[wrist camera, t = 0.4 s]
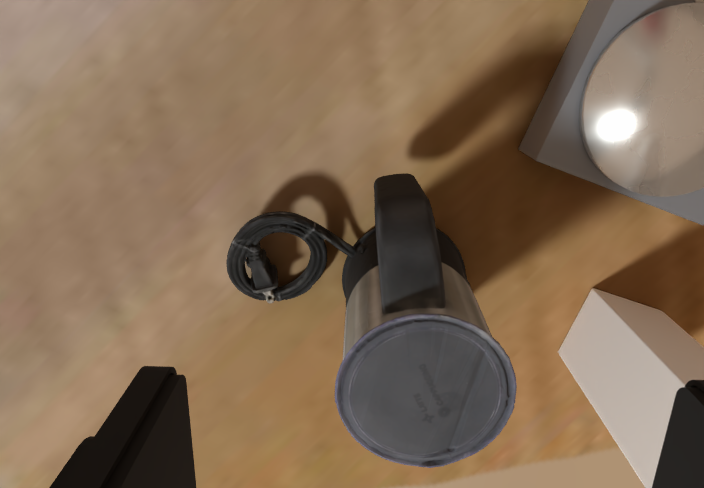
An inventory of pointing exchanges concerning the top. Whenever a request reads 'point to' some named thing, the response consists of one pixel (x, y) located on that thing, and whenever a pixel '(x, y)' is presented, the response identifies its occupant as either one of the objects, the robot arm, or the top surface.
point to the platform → (649, 104)
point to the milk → (631, 371)
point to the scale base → (565, 94)
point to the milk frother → (398, 329)
